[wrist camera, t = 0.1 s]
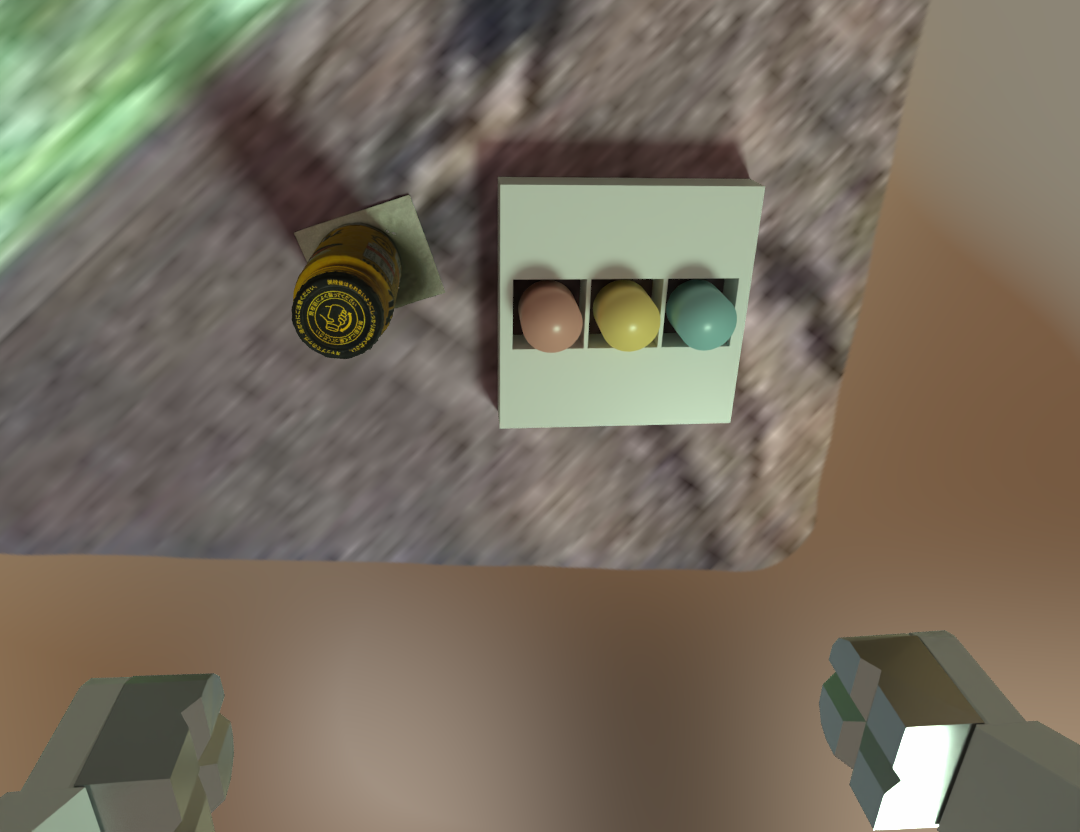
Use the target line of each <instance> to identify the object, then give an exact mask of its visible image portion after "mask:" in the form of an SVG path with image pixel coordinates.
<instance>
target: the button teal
mask: <svg viewBox="0 0 1080 832" xmlns="http://www.w3.org/2000/svg"><path fill="white" fill-rule="evenodd" d="M666 313H667V318H668V320H669V322H670V324H671V325H672V326H673V328H674V329H675V330H676V332H677V333H678V334H679V336H680V337H681V338H682V340H683V341H684V342H685V343H686V344H687V345H688V346H689V347H691V348H693V349H696V350H703V351H705V350H712V349H715V348H717V347H719V346H721V345H723V344H724V343H725V342H726V341H727V340H728V339H729V338H730V337H731V335H732V334H733V332H734V330H735V327H736V323H737V314H736V310H735V308H734V306H733V304H732V303H731V302H730V301H729V300H728V299H727V298H726V297H725V296H724V295H723V294H722V293H721V292H720V291H719V290H718V289H717V288H716V287H715V286H714V285H713V284H711V283H710V282H708V281H705V280H700V279H695V280H689V281H686V282H684V283H682V284H681V285H679V286H678V287H677V288H676V289H675V290H674V291H673V292H672V293H671V295H670V297H669V299H668V302H667V306H666Z"/></svg>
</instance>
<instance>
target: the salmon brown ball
mask: <svg viewBox="0 0 1080 832" xmlns="http://www.w3.org/2000/svg"><path fill="white" fill-rule="evenodd" d="M518 313H519V317H520V322H521V326H522V330H523V334H524V336H525V338H526V340H527V341H528V343H529V344H530V345H531V346H532V347H534V348H535V349H537V350H539V351H542V352H547V353H556V352H560V351H563V350H565V349H567V348H569V347H570V346H571V345H573V344H574V343H575V342H576V340H577V339H578V337H579V335H580V333H581V330H582V325H583V320H582V315H581V312H580V310H579V308H578V306H577V303H576V301H575V299H574V297H573V295H572V293H571V291H570V290H569V289H568V288H567V287H566V286H565V285H563V284H561V283H559V282H557V281H552V280H543V281H539V282H536V283H534V284H532V285H531V286H529V287H528V288H527V289H526V290H525V291H524V293H523V294H522V296H521V298H520V301H519V305H518Z"/></svg>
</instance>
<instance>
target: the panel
mask: <svg viewBox="0 0 1080 832" xmlns="http://www.w3.org/2000/svg"><path fill="white" fill-rule="evenodd" d="M764 191H765V186H763V185H761V184H759V183H757V182H755V181H753V180H751V179H704V178H580V177H498V417H499V425H500V428H540V427H580V426H621V425H662V424H703V423H730V420H731V413H732V406H733V400H734V393H735V386H736V379H737V373H738V366H739V359H740V353H741V346H742V339H743V332H744V326H745V319H746V312H747V305H748V299H749V292H750V285H751V278H752V272H753V265H754V258H755V252H756V245H757V238H758V231H759V225H760V218H761V211H762V204H763V198H764ZM710 278H725V280H724V287H723V295H724V296H725V297H726V298H727V299H728V300H729V301H730V302H731V303H732V304H733V306H734V308H735V310H736V314H737V323H736V327H735V330H734V332H733V334H732V335H731V337H730V338H729V339H728V340H727V341H726V342H725V343H724V344H723V345H721V346H719V347H717V348H715V349H712V350H705V351H703V350H696V349H693V348H691V347H689V346H688V345H687V344H686V343H685V342H684V341H683V340H682V338H681V337H680V336H679V334H678V333H663V326H664V316H665V306H666V296H667V286H668V279H710ZM519 279H580V296H579V310H580V312H581V315H582V320H583V325H582V330H581V333H580V335H579V337H578V339H577V340H576V342H575V343H574V344H573V345H571V346H570V347H569V348H567V349H565V350H563V351H560V352H556V353H547V352H542V351H539V350H537V349H535V348H534V347H532V346H531V345H530V344H529V343H528V341H527V340H526V338H525V336H524V335H513V280H519ZM591 279H653V286H652V297H651V300H652V301H653V302H654V304H655V305H656V307H657V308H658V310H659V313H660V319H661V321H660V328H659V331H658V333H657V335H656V337H655V338H654V339H653V341H652V342H651V343H650V344H648V345H647V346H646V347H644V348H642V349H640V350H637V351H631V352H625V351H620V350H617V349H615V348H613V347H612V346H610V345H609V344H608V343H607V342H606V340H605V339H604V337H603V335H602V334H588V332H589V314H590V296H591Z"/></svg>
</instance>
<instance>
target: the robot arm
mask: <svg viewBox="0 0 1080 832" xmlns="http://www.w3.org/2000/svg"><path fill="white" fill-rule="evenodd" d="M829 661H830V663H831V664H832V666H833V668H834V669H835V671H836V672H835V673H834V674H833V675H832V676H831V677H830V678H829V679H828V680H827V681H826V682H825V683H824V684H823V686H822V691H821V696H820V701H819V707H820V718H821V725H822V728H823V731H824V734H825V738H826V740H827V742H828V744H829V746H830V748H831V750H832V752H833V754H834V756H835V757H837V758H838V759H840V760H841V761H842V762H844V763H845V764H847V765H848V766H849V767H851V768H852V769H853V772H852V776H851V780H850V787H851V788H852V790H853V792H854V794H855V796H856V798H857V800H858V802H859V803H860V805H861V807H862V809H863V811H864V813H865V814H866V817H867V818H868V820H869V822H870V824H871V826H872V828H873V830H884V829H901V828H921V827H938V829H937V831H939V832H1080V745H1079V744H1077V743H1075V742H1074V741H1072V740H1070V739H1068V738H1066V737H1065V736H1063V735H1061V734H1060V733H1058V732H1056V731H1054V730H1052V729H1051V728H1049V727H1047V726H1045V725H1044V724H1042V723H1040V722H1038V721H1028V722H1026V721H1025V719H1024V718H1023V717H1022V716H1021V715H1020V713H1019V712H1018V711H1017V710H1016V709H1015V707H1014V706H1013V705H1012V704H1011V703H1010V701H1009V700H1008V699H1007V698H1006V697H1005V696H1004V694H1003V693H1002V692H1001V691H1000V690H999V688H998V687H997V686H996V685H995V684H994V682H993V681H992V680H991V679H990V678H989V676H988V675H987V674H986V673H985V672H984V670H983V669H982V668H981V667H980V666H979V664H978V663H977V662H976V661H975V660H974V659H973V657H972V656H971V655H970V654H969V652H968V651H967V650H966V649H965V648H964V646H963V645H962V644H961V643H960V642H959V640H958V639H957V638H956V637H955V636H954V635H952V634H951V633H949V632H947V631H945V630H944V631H929V632H915V633H909V634H904V633H903V634H888V635H873V636H859V637H843V638H838V639H837V641H836V642H835V643H834V644H833V646H832V649H831V653H830V657H829ZM223 699H224V691H223V687H222V684H221V680H220V676H218V675H216V674H214V673H213V674H187V675H186V674H183V675H155V676H154V675H151V676H133V677H120V678H91V679H90V680H89V681H87V682H86V683H85V684H83V685H82V686H81V687H80V688H79V690H78V692H77V693H76V695H75V697H74V699H73V700H72V702H71V704H70V706H69V708H68V709H67V711H66V713H65V714H64V716H63V718H62V720H61V721H60V723H59V725H58V727H57V728H56V730H55V732H54V734H53V735H52V737H51V739H50V741H49V742H48V744H47V746H46V748H45V750H44V751H43V753H42V755H41V756H40V758H39V760H38V762H37V763H36V765H35V767H34V769H33V770H32V772H31V774H30V776H29V778H28V779H27V781H26V783H25V784H24V786H23V788H22V790H21V791H20V792H19V791H18V792H7V793H6V794H4V795H3V796H2V797H0V832H215V830H214V825H213V821H212V817H211V813H212V812H213V811H214V810H215V809H216V808H217V807H218V806H219V805H220V804H221V803H222V802H223V801H224V800H225V798H226V795H227V791H228V787H229V784H230V780H231V774H232V766H233V757H234V745H233V733H232V728H231V723H230V721H229V720H228V719H226V718H225V717H224V716H222V715H221V714H220V713H219V711H220V708H221V705H222V702H223Z"/></svg>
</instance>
